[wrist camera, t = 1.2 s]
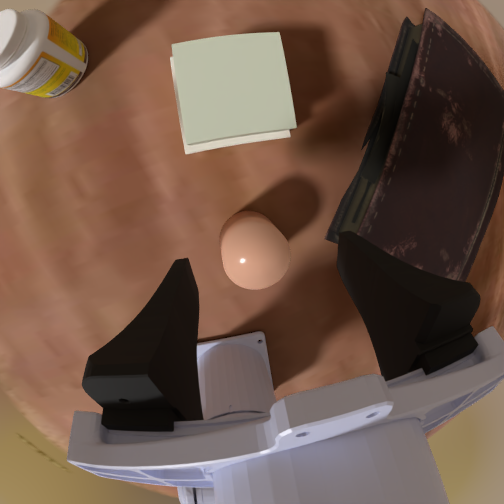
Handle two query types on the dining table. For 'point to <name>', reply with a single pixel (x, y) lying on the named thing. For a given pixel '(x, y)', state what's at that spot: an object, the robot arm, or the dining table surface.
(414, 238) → the diary
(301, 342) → the dining table surface
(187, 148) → the cream base slab
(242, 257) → the peach rounded lump
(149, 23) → the dining table surface
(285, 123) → the sage middle block
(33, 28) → the supplement bottle
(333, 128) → the dining table surface
